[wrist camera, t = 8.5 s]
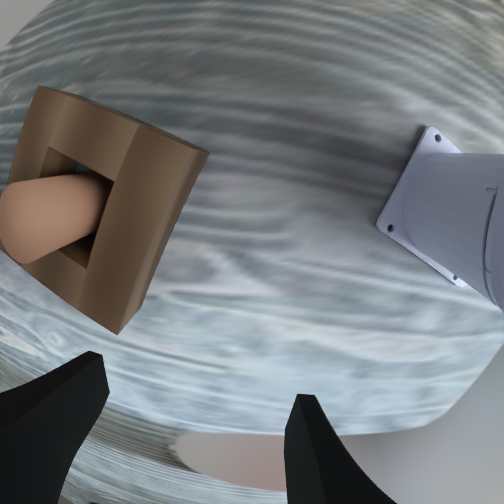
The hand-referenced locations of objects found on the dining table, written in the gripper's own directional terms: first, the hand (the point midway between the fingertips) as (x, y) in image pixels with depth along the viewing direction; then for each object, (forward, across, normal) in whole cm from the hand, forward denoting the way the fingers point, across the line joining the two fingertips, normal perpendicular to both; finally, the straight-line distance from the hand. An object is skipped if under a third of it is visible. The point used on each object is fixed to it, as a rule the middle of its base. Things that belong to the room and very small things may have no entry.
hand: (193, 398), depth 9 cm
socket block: (+10, +10, -5) cm, 15 cm away
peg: (+10, +10, -5) cm, 15 cm away
